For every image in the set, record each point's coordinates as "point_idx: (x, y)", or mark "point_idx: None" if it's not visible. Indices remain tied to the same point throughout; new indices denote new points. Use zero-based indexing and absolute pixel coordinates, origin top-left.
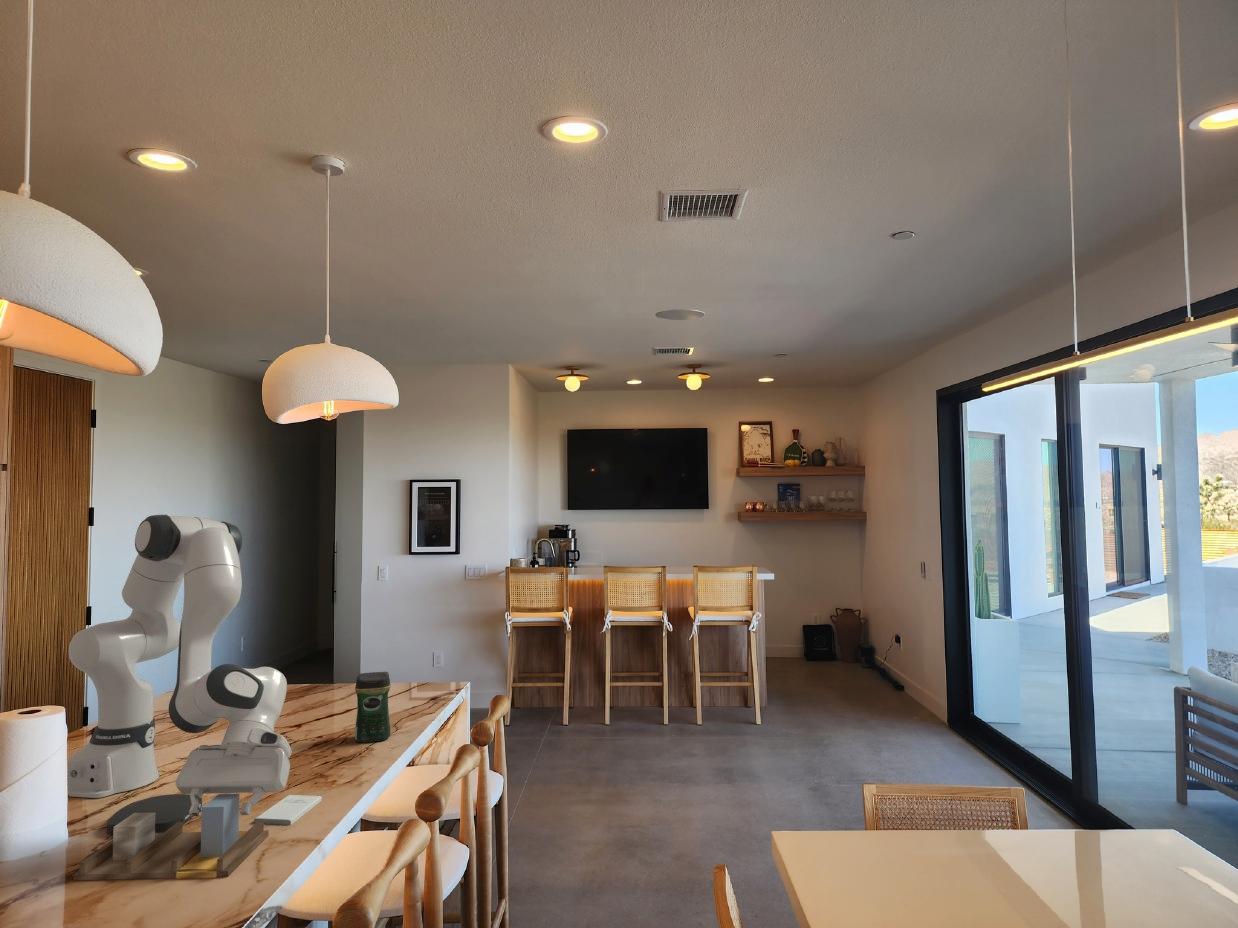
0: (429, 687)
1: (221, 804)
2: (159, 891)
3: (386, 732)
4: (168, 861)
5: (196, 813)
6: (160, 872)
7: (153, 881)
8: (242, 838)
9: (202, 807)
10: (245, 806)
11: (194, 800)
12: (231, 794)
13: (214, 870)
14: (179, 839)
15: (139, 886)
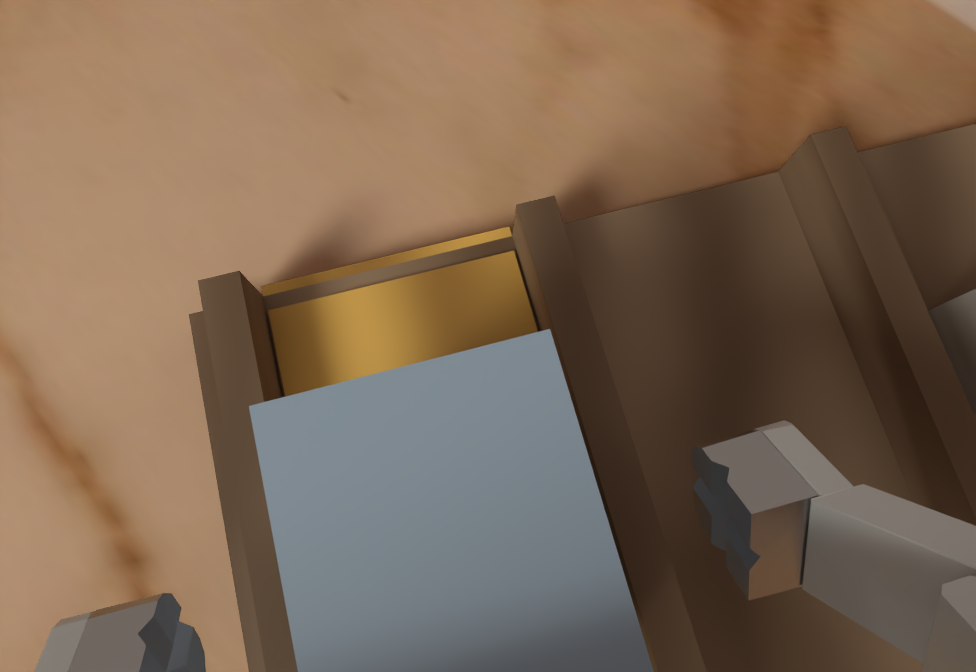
0: None
1: (336, 465)
2: (482, 115)
3: None
4: (685, 335)
5: (696, 451)
6: (610, 214)
7: (609, 190)
8: (281, 624)
9: (541, 334)
10: (87, 655)
11: (864, 517)
12: None
13: (284, 298)
14: None
15: (638, 134)
